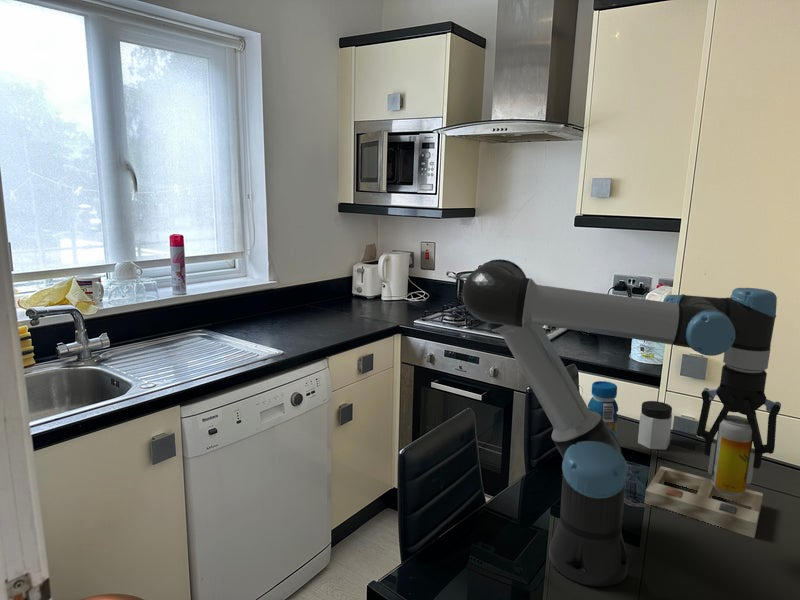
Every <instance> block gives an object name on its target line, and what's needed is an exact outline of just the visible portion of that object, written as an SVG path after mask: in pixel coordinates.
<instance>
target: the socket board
mask: <svg viewBox="0 0 800 600" xmlns="http://www.w3.org/2000/svg"><path fill="white" fill-rule="evenodd" d="M711 480H712V478H711V479H710V478H707V477H703V476H699V475H695V474H691V473H689V472H684V471H681V470H677V469H673V468H669V467H666V466H662V465H661V466H660V467H659V468H658V470H657V472H656V473H655V475H654V477H653V478H652V479H651V481H650V483H649V484H648V486H647V487H646V489H645V492H644V493H645V495H644V503H646V504H649V505H654V506H658V507H661V508H665V509H668V510H671V511H674V512H677V513H680V514H683V515H687V516H689V517H692V518H695V519H698V520H700V521H699V522H701V521H704V522H706V523H705V524H707V523H709V524H708V525H710V524H712V525H711V526H714V525H716V526H715V527H717V526H719V527H718V528H720V527H722V528H721V529H723V528H725V529H724V530H726V529H727V530H728V531H730V532H733V533H736V534H740V535H743V536H747V537H750V538H753V539H755V537H756V532H757V529H758V528H757V527H758V523H759V519H760V514H761V511H762V510H761V509H762V503H763V496H764V493H762V492H759V491H755V490H752V489H748V488H746V490H745V491H744V492H743V493H742V494H740V495H728V494H724V493H722V492H720V491H718V490H716V489H715V488H714V485H713V484H712V482H711ZM664 482H668V483H672V484H676V485H679V486H683V487H687V488H689V489H694V490H697V491H698V492H696V493H694V492H691V491H690V492H689V491H686V490H683V489H680V488H676V487H672V486H669V485H665V483H664ZM668 483H667V484H668ZM689 489H688V490H689ZM712 496H713V497H714V496H717V497H721V498H724V499H723V500H725V499H727V500H726V501H728V500H730V501H729V502H732V501H734V502H733V503H735V502H737V503H736V504H739V503H740V504H739V505H743V506H747V507H750V509H749V508H746V507H742V506H739V505H736V504H731V503H729V502H724V501H722V500H718V499H715V498H713V497H712ZM717 497H716V498H717ZM721 498H720V499H721ZM646 504H645V505H646ZM649 505H648V506H649ZM704 522H703V523H704Z"/></svg>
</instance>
